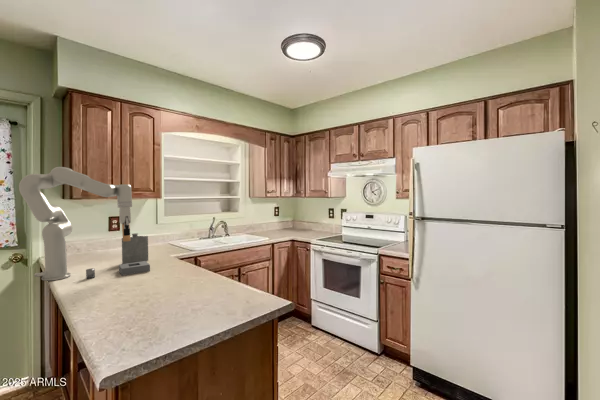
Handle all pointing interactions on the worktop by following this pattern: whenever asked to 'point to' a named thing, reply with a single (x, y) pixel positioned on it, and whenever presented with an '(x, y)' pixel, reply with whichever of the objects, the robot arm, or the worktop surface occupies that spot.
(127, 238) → the long pin
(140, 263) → the hole block
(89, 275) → the short pin
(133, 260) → the hip flask
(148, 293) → the worktop surface
